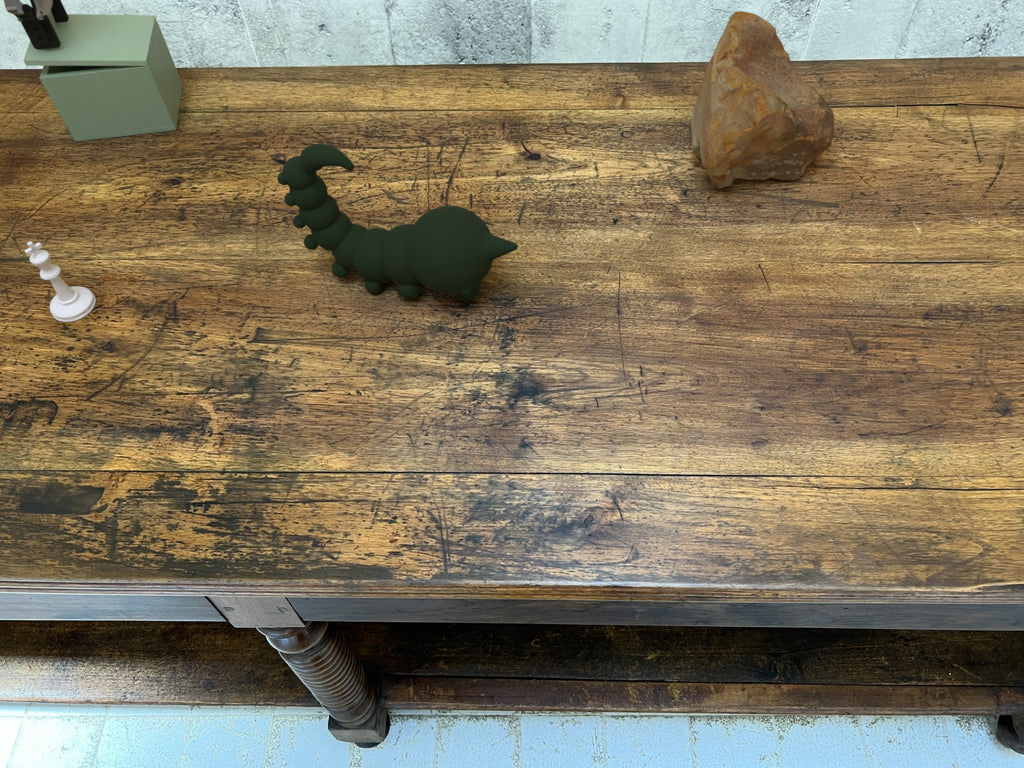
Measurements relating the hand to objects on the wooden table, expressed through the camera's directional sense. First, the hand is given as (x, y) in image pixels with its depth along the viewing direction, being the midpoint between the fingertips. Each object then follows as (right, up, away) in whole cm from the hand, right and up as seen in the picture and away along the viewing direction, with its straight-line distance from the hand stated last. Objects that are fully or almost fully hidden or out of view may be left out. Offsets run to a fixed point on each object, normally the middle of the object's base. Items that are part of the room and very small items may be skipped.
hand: (51, 32), depth 104 cm
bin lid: (+4, 0, +2) cm, 5 cm away
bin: (+5, -7, +11) cm, 13 cm away
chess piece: (+8, -36, -10) cm, 38 cm away
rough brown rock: (+90, -16, +1) cm, 91 cm away
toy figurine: (+47, -33, -10) cm, 59 cm away
